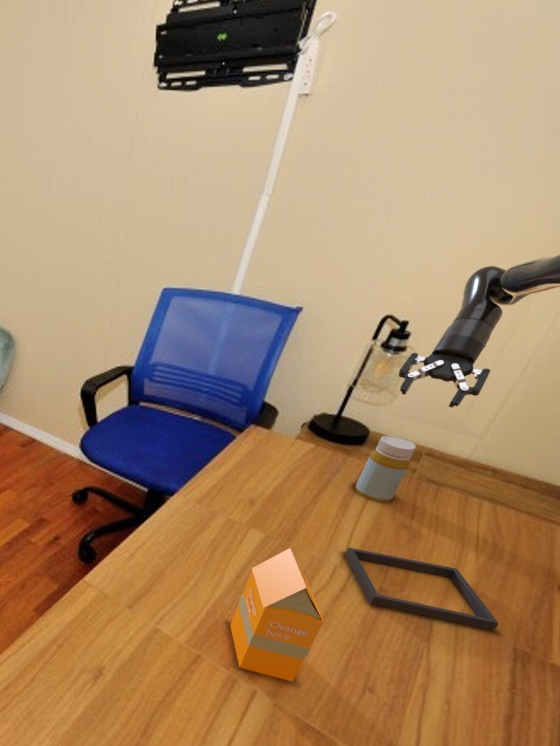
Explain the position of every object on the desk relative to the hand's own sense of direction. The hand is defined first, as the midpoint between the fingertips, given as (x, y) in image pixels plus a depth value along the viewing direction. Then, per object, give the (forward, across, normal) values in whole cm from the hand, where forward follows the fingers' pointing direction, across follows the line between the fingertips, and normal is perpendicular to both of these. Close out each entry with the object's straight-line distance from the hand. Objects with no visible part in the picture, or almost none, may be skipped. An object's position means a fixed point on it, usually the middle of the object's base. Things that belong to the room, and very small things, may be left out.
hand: (426, 399), depth 118 cm
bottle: (+24, 0, +8) cm, 25 cm away
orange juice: (+73, +3, -40) cm, 83 cm away
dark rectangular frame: (+46, +14, -14) cm, 50 cm away
